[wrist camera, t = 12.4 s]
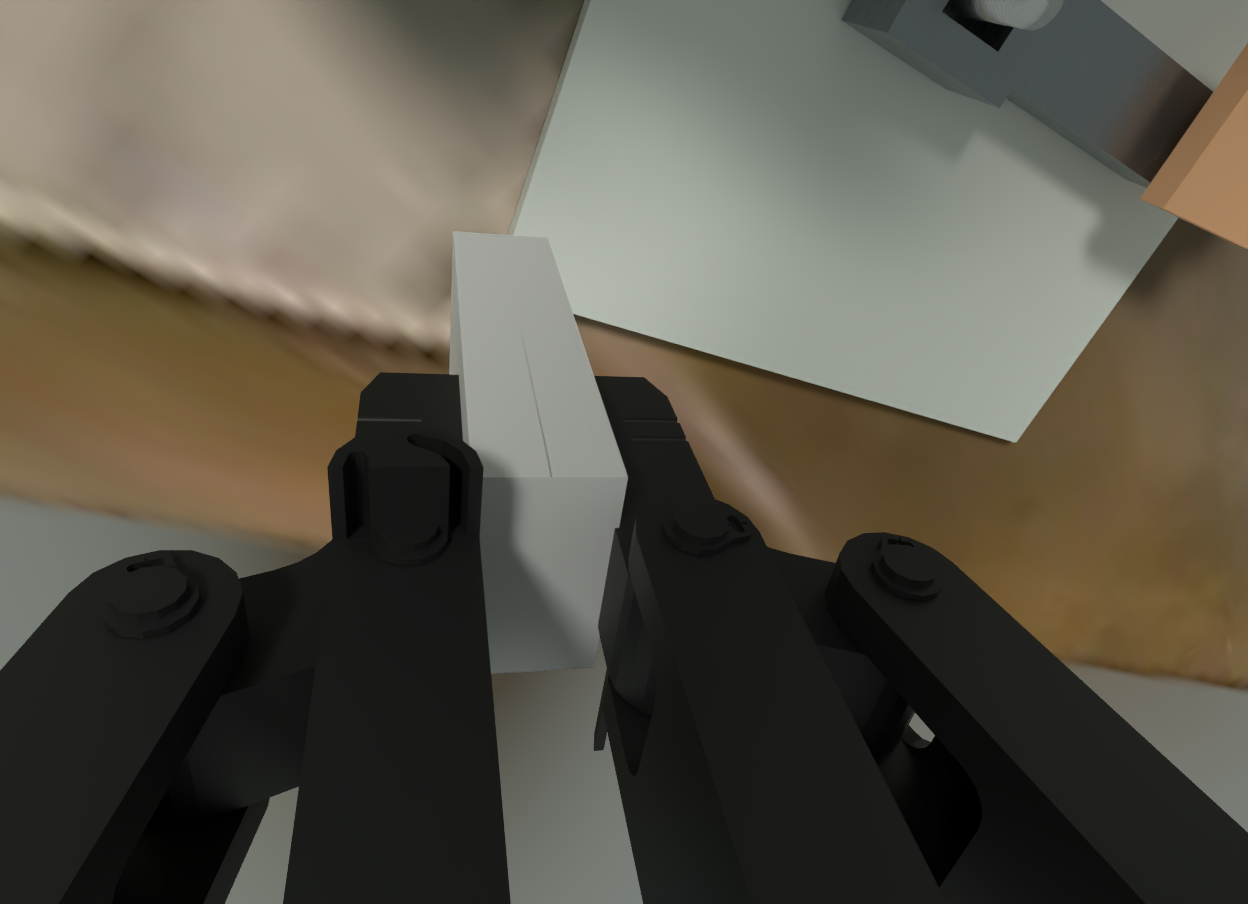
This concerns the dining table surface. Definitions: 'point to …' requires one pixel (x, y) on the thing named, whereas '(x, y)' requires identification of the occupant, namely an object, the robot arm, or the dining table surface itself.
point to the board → (839, 203)
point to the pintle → (1007, 11)
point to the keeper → (1211, 163)
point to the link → (1052, 74)
